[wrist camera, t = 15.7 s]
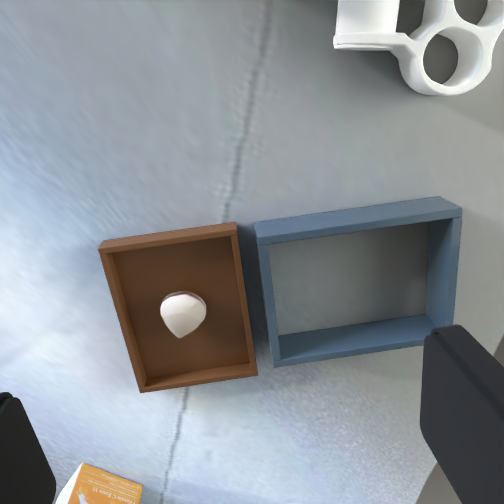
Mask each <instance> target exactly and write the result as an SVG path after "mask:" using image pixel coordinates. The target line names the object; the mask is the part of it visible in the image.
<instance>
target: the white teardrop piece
mask: <svg viewBox="0 0 504 504" xmlns="http://www.w3.org/2000/svg"><path fill="white" fill-rule="evenodd" d="M160 310H161V316H162V318H163V320H164V322H165V324H166V326H167V327H168V328H169V329H170V331H171V332H172V333H173V334H175V336H176V337H178V338H182V337H184V336H185V335H187V334H189V333H190V332H192V331H194V330H195V329H196V328H197V327H198V326H199V325H200V323H201V322H202V321H203V320H204V318H205V316H206V305H205V303H204V301H203V299H202V298H200V297H199V296H198V295H196V294H194V293H191V292H188V291H178V292H174V293H171V294H169V295H167V296H166V297H165V298H164V300H163V301H162V304H161V308H160Z"/></svg>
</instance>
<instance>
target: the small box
mask: <svg viewBox="0 0 504 504" xmlns="http://www.w3.org/2000/svg"><path fill="white" fill-rule="evenodd" d="M142 489H143V485H141V484H138V483H135V482H132V481H129V480H127V479H124V478H122V477H119V476H116V475H114V474H111V473H108V472H106V471H103V470H101V469H98V468H96V467H93V466H91V465H89V464H87V463H84V462H82V463H81V465H80V466H79V468H78V469H77V470H76V472H75V473H74V475H73V476H72V477H71V479H70V480H69V482H68V483H67V485H66V486H65V487H64V489H63V490H62V492H61V493H60V494H59V497H58V499H57V501H56V504H140V499H141V494H142Z"/></svg>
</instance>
